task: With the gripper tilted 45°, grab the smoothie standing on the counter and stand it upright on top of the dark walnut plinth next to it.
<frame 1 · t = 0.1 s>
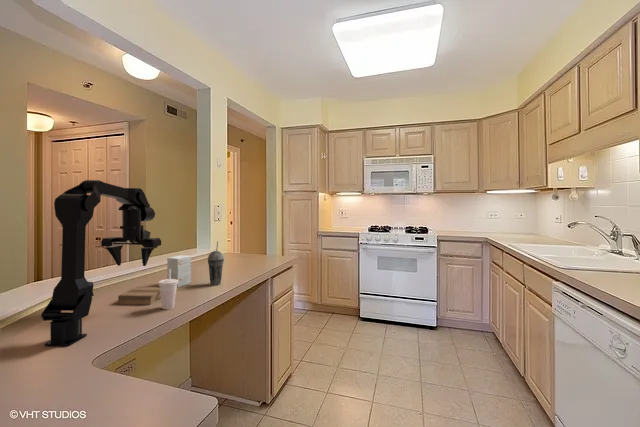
hand: (131, 265, 109), 15 cm above the table, tool pointing down, fingers open, 9 cm apart
walnut plinth: (143, 299, 118), on the table
smoothie: (168, 308, 109), on the table
beverage cup: (215, 284, 141), on the table
small box: (179, 285, 139), on the table
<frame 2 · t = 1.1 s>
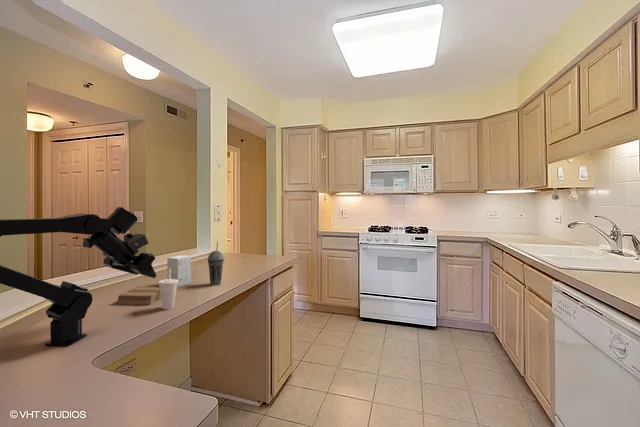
hand: (146, 275, 101), 13 cm above the table, tool tilted 45°, fingers open, 9 cm apart
nothing on the table moved.
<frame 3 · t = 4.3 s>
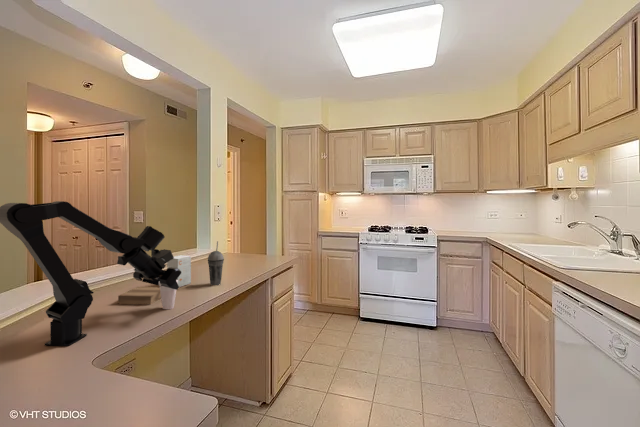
hand: (171, 287, 110), 7 cm above the table, tool tilted 45°, fingers closed on smoothie, 6 cm apart
smoothie: (168, 308, 109), on the table, touching gripper
everything else where it was.
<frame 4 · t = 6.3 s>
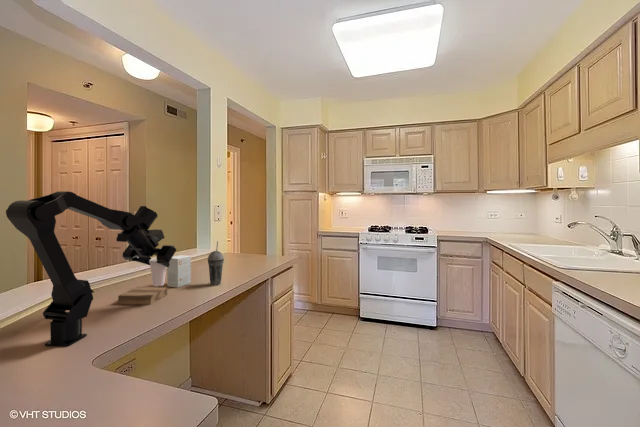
hand: (161, 265, 115), 14 cm above the table, tool tilted 45°, fingers closed on smoothie, 6 cm apart
smoothie: (158, 285, 114), point 6 cm above the table, touching gripper
everything else where it was.
when the fingers open (11 cm above the table, at t = 8.3 s): smoothie stays where it is, resting on walnut plinth.
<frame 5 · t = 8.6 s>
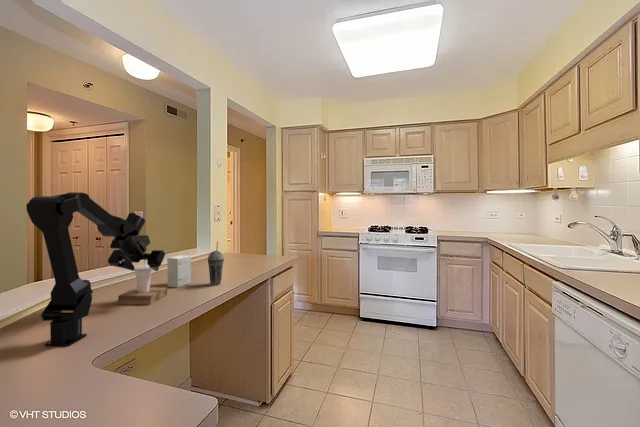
hand: (146, 270, 119), 11 cm above the table, tool tilted 45°, fingers open, 9 cm apart
smoothie: (143, 291, 117), point 3 cm above the table, touching walnut plinth
everything else where it was.
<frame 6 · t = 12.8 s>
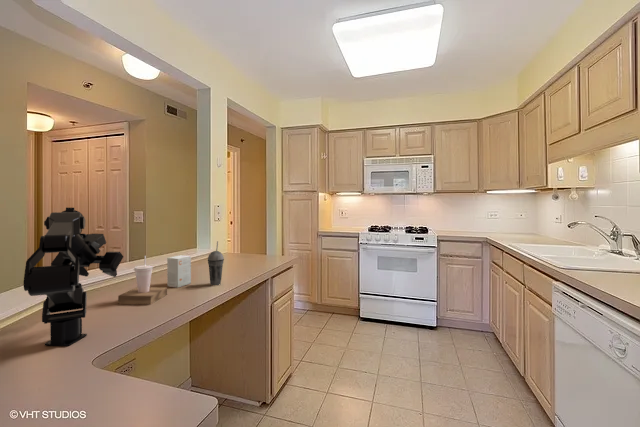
hand: (101, 275, 99), 14 cm above the table, tool tilted 45°, fingers open, 9 cm apart
nothing on the table moved.
at the end: smoothie inside the target area on the walnut plinth (0.2 cm from its centre), point 2.8 cm above the walnut plinth's base; smoothie tilted 0°; the gripper is holding nothing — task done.
